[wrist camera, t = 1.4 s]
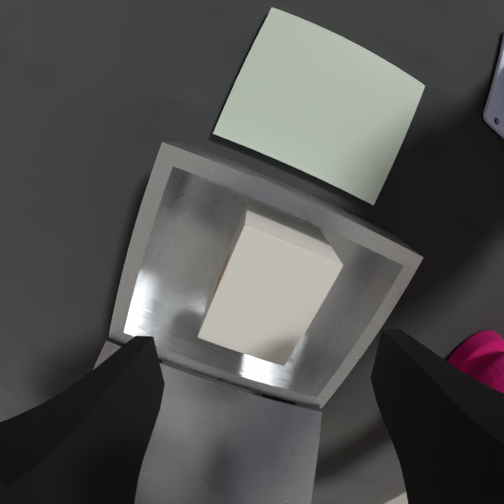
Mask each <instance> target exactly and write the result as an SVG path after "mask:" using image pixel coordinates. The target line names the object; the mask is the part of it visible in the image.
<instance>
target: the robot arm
mask: <svg viewBox="0 0 504 504" xmlns="http://www.w3.org/2000/svg"><path fill="white" fill-rule="evenodd" d="M483 117H484V120H485V122H486V123H487V124H488V125H489V126H490V127H491V128H493V129H494V130H495V131H496V132H497V133H498V134H499V135H500V136H501V137H502V138H503V139H504V34H503V39H502V44H501V49H500V54H499V58H498V62H497V66H496V70H495V74H494V78H493V82H492V85H491V89H490V92H489V96H488V99H487V103H486V106H485V109H484V112H483ZM494 118H495V120H496V123H494ZM371 381H372V385H373V389H374V393H375V397H376V401H377V404H378V407H379V409H380V412H381V414H382V417H383V420H384V422H385V425H386V427H387V430H388V432H389V435H390V437H391V440H392V442H393V445H394V447H395V450H396V453H397V455H398V458H399V462H400V465H401V469H402V473H403V478H404V482H405V487H406V492H407V498H408V504H504V393H502V392H500V391H497V390H495V389H493V388H491V387H489V386H487V385H485V384H483V383H481V382H479V381H478V380H476V379H474V378H472V377H470V376H469V375H467V374H466V373H464V372H462V371H461V370H459V369H457V368H456V367H454V366H453V365H451V364H450V363H448V362H447V361H445V360H444V359H442V358H441V357H439V356H438V355H436V354H435V353H434V352H432V351H431V350H429V349H428V348H427V347H425V346H424V345H422V344H421V343H419V342H418V341H417V340H415V339H414V338H412V337H411V336H409V335H408V334H406V333H405V332H403V331H402V330H400V329H390V330H382V331H381V336H380V341H379V345H378V350H377V354H376V359H375V363H374V367H373V371H372V375H371ZM164 386H165V382H164V378H163V375H162V371H161V367H160V363H159V359H158V354H157V350H156V346H155V342H154V337H153V336H135V337H133V338H132V339H131V340H129V341H128V342H127V343H126V344H124V345H123V346H122V347H121V348H119V349H118V350H117V351H116V352H115V353H113V354H112V355H111V356H110V357H108V358H107V359H106V360H105V361H104V362H102V363H101V364H100V365H99V366H97V367H96V368H95V369H94V370H92V371H91V372H90V373H88V374H87V375H85V376H84V377H83V378H81V379H80V380H79V381H77V382H76V383H75V384H73V385H72V386H70V387H69V388H68V389H66V390H65V391H63V392H61V393H60V394H58V395H57V396H55V397H53V398H51V399H50V400H48V401H46V402H45V403H43V404H41V405H39V406H37V407H35V408H33V409H31V410H28V411H26V412H24V413H22V414H20V415H18V416H16V417H13V418H11V419H8V420H5V421H3V422H0V504H134V503H135V496H136V490H137V485H138V479H139V474H140V470H141V466H142V462H143V459H144V456H145V453H146V450H147V447H148V444H149V441H150V438H151V435H152V432H153V429H154V426H155V423H156V420H157V417H158V414H159V411H160V407H161V402H162V397H163V391H164Z"/></svg>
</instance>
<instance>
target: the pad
mask: <svg viewBox="0 0 504 504" xmlns="http://www.w3.org/2000/svg"><path fill="white" fill-rule="evenodd" d="M424 88H425V85H423V84H422V83H420V82H419V81H417V80H416V79H414V78H413V77H411V76H410V75H408V74H407V73H405V72H404V71H402V70H401V69H399V68H397V67H396V66H394V65H392V64H391V63H389V62H387V61H386V60H384V59H382V58H381V57H379V56H377V55H375V54H374V53H372V52H370V51H368V50H366V49H365V48H363V47H361V46H359V45H357V44H355V43H353V42H351V41H349V40H347V39H345V38H343V37H341V36H339V35H337V34H335V33H333V32H331V31H329V30H327V29H324V28H322V27H320V26H318V25H315V24H313V23H311V22H309V21H306V20H304V19H301V18H299V17H296V16H294V15H291V14H289V13H286V12H283V11H281V10H278V9H275V8H273V7H272V8H271V10H270V12H269V14H268V16H267V18H266V20H265V22H264V24H263V26H262V28H261V30H260V32H259V34H258V36H257V38H256V40H255V42H254V44H253V46H252V48H251V50H250V52H249V54H248V56H247V58H246V60H245V62H244V64H243V67H242V69H241V71H240V73H239V75H238V77H237V79H236V82H235V84H234V86H233V88H232V90H231V93H230V95H229V97H228V99H227V102H226V104H225V106H224V109H223V111H222V113H221V116H220V118H219V120H218V123H217V125H216V127H215V130H214V132H213V134H215V135H218V136H220V137H223V138H225V139H228V140H231V141H233V142H236V143H238V144H241V145H243V146H246V147H248V148H251V149H253V150H255V151H258V152H260V153H263V154H265V155H267V156H270V157H272V158H274V159H277V160H279V161H281V162H284V163H286V164H288V165H290V166H293V167H295V168H297V169H299V170H302V171H304V172H306V173H308V174H310V175H313V176H315V177H317V178H319V179H321V180H323V181H325V182H327V183H330V184H332V185H334V186H336V187H338V188H340V189H342V190H344V191H346V192H348V193H350V194H352V195H354V196H356V197H358V198H360V199H362V200H364V201H366V202H368V203H370V204H372V205H374V204H375V201H376V199H377V197H378V195H379V193H380V191H381V189H382V187H383V185H384V182H385V180H386V178H387V176H388V174H389V172H390V169H391V167H392V165H393V163H394V161H395V158H396V156H397V154H398V151H399V149H400V147H401V145H402V142H403V140H404V138H405V135H406V133H407V130H408V128H409V126H410V123H411V121H412V118H413V116H414V113H415V111H416V108H417V106H418V103H419V101H420V98H421V96H422V93H423V90H424Z"/></svg>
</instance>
